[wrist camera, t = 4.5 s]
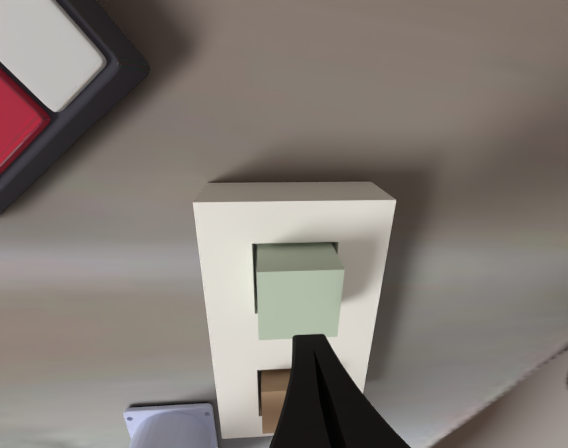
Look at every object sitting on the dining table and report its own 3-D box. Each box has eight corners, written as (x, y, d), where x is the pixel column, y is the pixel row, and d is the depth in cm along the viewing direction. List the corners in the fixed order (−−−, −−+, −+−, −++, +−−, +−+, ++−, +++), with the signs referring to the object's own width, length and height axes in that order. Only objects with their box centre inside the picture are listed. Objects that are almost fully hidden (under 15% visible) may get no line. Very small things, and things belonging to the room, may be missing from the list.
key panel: (343, 385, 27) (356, 430, 23) (227, 392, 26) (222, 439, 23) (370, 181, 19) (396, 199, 16) (206, 182, 19) (192, 202, 15)
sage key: (324, 297, 19) (337, 336, 16) (259, 299, 19) (258, 340, 16) (329, 238, 17) (344, 269, 14) (257, 240, 17) (256, 272, 14)
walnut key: (314, 386, 24) (322, 429, 21) (262, 388, 24) (262, 433, 20) (317, 347, 22) (326, 388, 19) (261, 349, 22) (261, 391, 19)
